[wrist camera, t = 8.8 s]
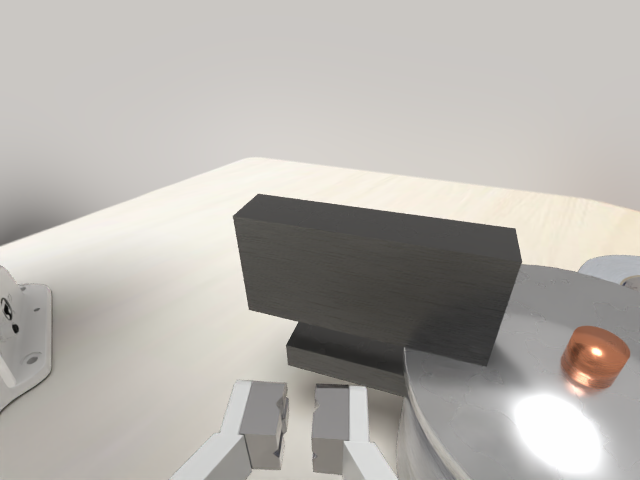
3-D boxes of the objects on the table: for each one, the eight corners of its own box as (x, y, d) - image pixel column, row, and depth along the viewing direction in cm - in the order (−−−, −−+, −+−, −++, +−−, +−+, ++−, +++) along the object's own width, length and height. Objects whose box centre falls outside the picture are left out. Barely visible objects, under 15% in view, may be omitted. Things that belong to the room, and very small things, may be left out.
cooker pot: (708, 418, 29) (794, 328, 23) (948, 830, 14) (1312, 840, 9) (333, 329, 38) (332, 249, 32) (249, 529, 23) (223, 444, 18)
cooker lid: (705, 306, 25) (784, 197, 20) (1068, 770, 10) (1664, 735, 5) (308, 239, 33) (304, 152, 29) (174, 433, 18) (123, 312, 14)
